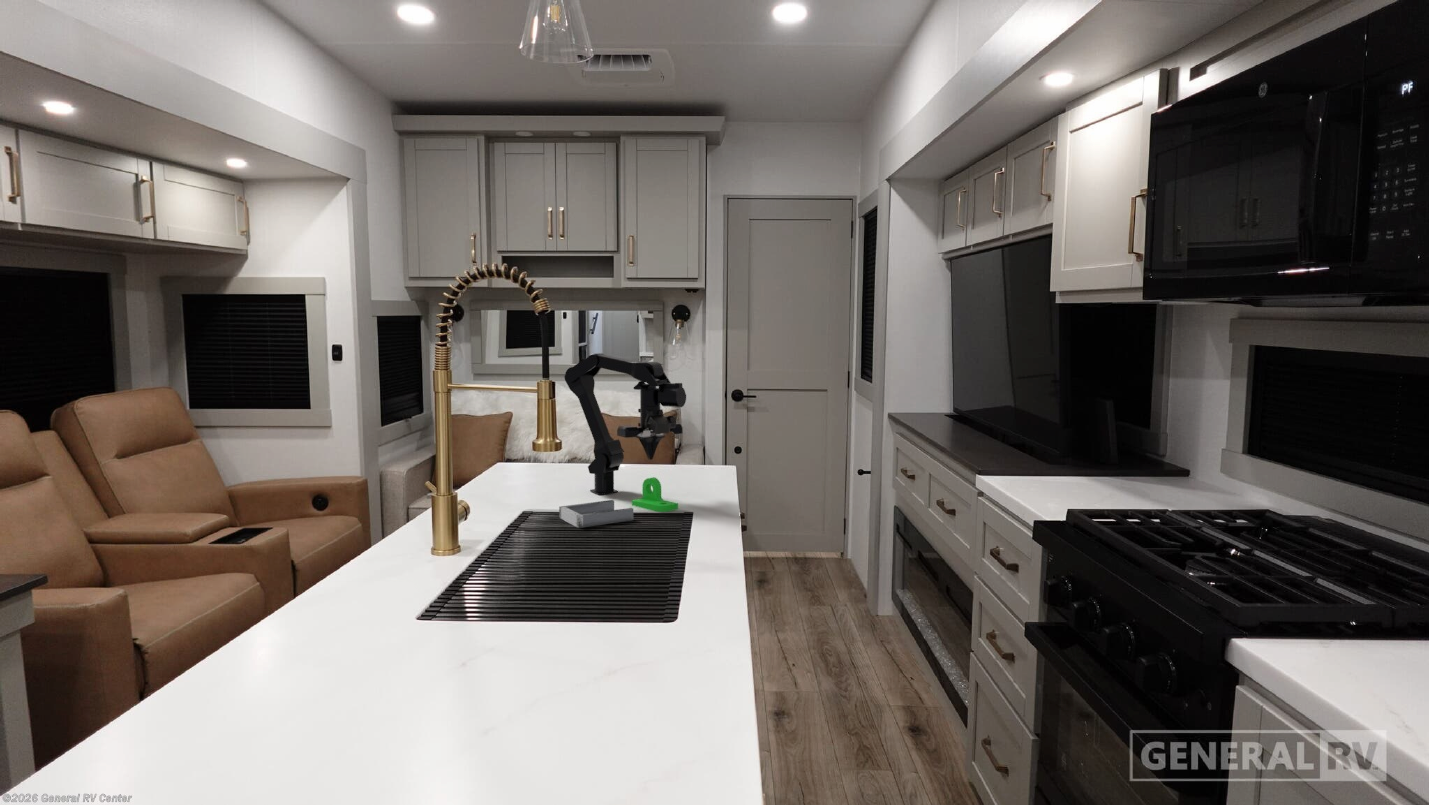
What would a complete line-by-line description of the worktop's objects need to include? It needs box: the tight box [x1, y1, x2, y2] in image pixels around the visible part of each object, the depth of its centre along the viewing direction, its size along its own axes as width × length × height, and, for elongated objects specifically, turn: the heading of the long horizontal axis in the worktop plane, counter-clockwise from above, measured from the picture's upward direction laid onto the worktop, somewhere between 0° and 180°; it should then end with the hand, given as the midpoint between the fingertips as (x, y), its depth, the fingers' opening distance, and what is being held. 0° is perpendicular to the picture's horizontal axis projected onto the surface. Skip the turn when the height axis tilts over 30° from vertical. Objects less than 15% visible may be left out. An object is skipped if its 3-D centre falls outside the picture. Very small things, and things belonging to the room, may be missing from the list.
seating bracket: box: [558, 499, 634, 529], centre depth 193 cm, size 12×15×3 cm
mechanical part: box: [631, 476, 679, 513], centre depth 206 cm, size 12×6×8 cm, turn 49°
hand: (650, 459), depth 215 cm, fingers closed
